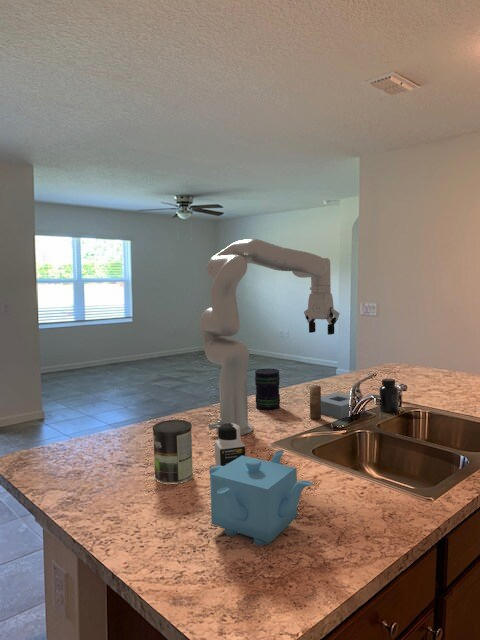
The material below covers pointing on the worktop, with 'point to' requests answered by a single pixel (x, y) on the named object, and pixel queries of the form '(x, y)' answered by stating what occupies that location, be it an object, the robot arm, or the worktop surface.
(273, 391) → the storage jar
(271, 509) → the teakettle
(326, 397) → the socket
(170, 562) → the worktop surface
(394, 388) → the supplement bottle
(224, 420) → the robot arm
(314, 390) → the peg
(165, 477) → the coffee can
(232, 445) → the medicine bottle
